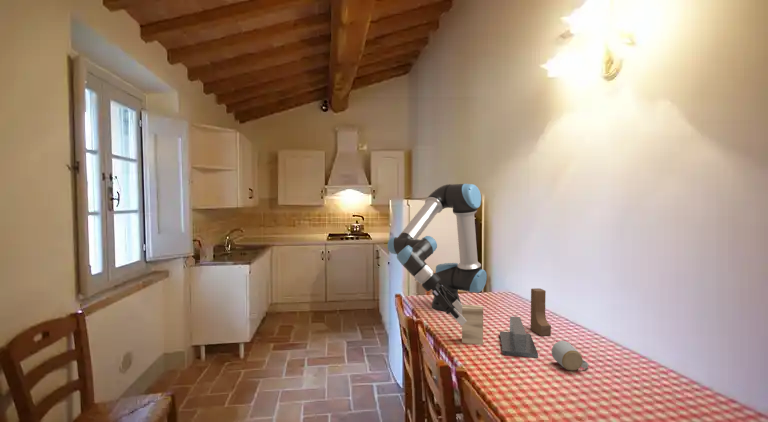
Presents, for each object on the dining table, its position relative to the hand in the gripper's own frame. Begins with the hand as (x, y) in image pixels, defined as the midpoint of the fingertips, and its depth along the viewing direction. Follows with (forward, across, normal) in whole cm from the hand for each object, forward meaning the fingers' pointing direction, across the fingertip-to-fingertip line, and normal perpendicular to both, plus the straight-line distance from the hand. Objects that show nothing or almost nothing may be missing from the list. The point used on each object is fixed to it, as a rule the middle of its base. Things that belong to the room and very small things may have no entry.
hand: (464, 318), depth 156 cm
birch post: (+9, -1, -4) cm, 10 cm away
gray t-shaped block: (+21, -1, +8) cm, 22 cm away
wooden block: (+28, -19, +15) cm, 38 cm away
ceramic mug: (+32, +14, +19) cm, 40 cm away
